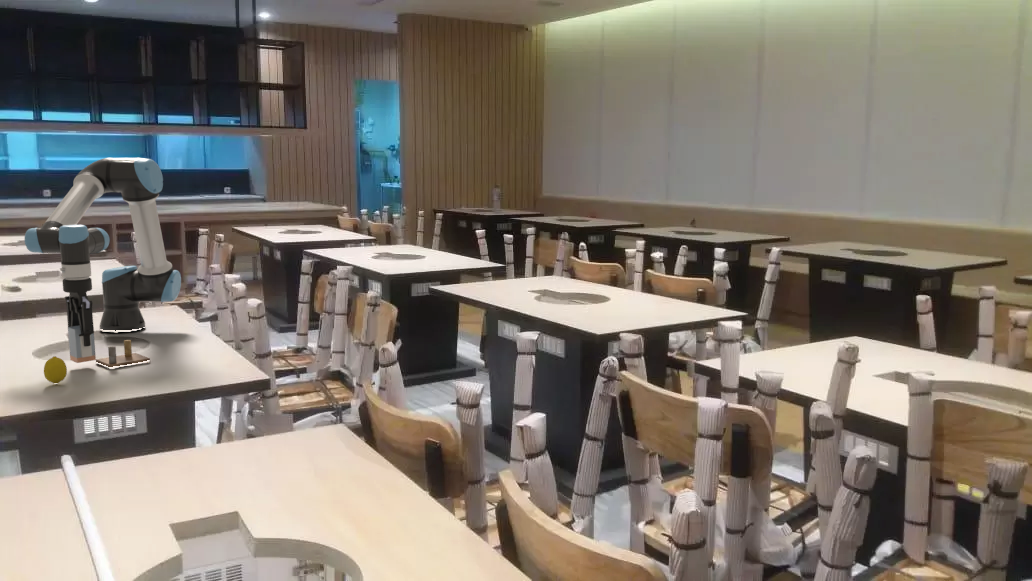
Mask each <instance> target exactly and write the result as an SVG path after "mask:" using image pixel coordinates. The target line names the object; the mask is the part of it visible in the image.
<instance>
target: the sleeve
mask: <svg viewBox="0 0 1032 581" xmlns="http://www.w3.org/2000/svg"><path fill="white" fill-rule="evenodd" d="M94 333H95V332H94ZM94 333H93V334H91V347H92V356H89V357H83V358H82V357H81V344H80V336H79V334H81V330H80V326H72V327H68V326H67V334H68V346H69V347H68V350H69V359H70V361H72V362H74V363H76V364H80V363H85V362H91V361H96V359H97V357H96V355H97V354H96V345H95V334H94Z"/></svg>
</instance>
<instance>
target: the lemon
mask: <svg viewBox="0 0 1032 581" xmlns="http://www.w3.org/2000/svg"><path fill="white" fill-rule="evenodd" d="M67 373H68V369H67V364H66V362H65V361H64V359H62V358H60V357H57V356H55V355H54V356H52V357H50V358H49V359H47V360H46V361H45V362H44V366H43V374H44V377H45V379H46V380H47V381H48V382H50V383H53V384H54V383H58V384H60V382H62V381H63V380H65V378H66V376H67Z"/></svg>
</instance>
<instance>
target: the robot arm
mask: <svg viewBox="0 0 1032 581" xmlns="http://www.w3.org/2000/svg"><path fill="white" fill-rule="evenodd" d="M163 181H164V177H163V174H162V171H161V167H160V166H159V165H158V163H157V161H155V160H153V159H151V158H144V157H105V158H101V159H97V160H96V161H94V162H91V163H90V164H89V165H87V166H85V167H84V168H83V169H82V170H81V171H79V172H78V173H77V175H76V176H75V177H74V179H73V186H72V187H71V188H70V189H69V191H67V193H66V195H65V196H64V197H63V198H62V200H61V201H60V202H59V203H58V205H56V206H57V207H55V209H54V211H52V213H51V214H50V216H49V217H47V219H46V220H45V222H44V223H43V224H42V225H41V227H32V228H31V227H30V228H28V229H27V230H26V231H25V234H24V245H25V246H26V249H27V251H29V252H31V253H34V254H35V253H37V254H38V253H39V254H60V264H61V267H60V268H59V271H60V272H61V276H62V278H63V279H62V289H63V290H62V291H63V292H64V293H68V295H65V298H64V299H65V304H66V317H67V328H68V327H72V326H80V330H81V334H79V336H80V344H81V357H82V358H83V357H89V356H92V347H91V334H93V333H95V329H94V318H93V317H94V315H93V301H92V300H89V298H88V292H90V291H92V290H93V283H92V278H91V276H92V266H91V256H90V255H93V254H99V253H101V252H102V251H104V250H106V249H107V248H108V247H109V244H110V240H111V239H110V236H109V234H108V232H107V231H105V229H103V228H100V227H90V228H88V226H87V225H85V224H78V223H79V222H80V221H81V220H82V218H83V217H84V215H85V214H86V212H87V211H88V210H89V208H90V207H91V205H92V204H93V203H94V201H95V200H97V199H99V198H101V197H102V196H103V195H104V194H106V193H121V197H122V200H123V201H124V202H126V203H128V208H129V211H130V217H131V221H132V226H133V232H134V235H135V236H134V237H135V241H136V246H137V251H138V255H139V260H140V265H139V266H137V265H125V266H119V267H111V268H108V269H105V270H103V271H102V274H101V284H102V285H101V287H102V299H103V300H102V302H103V312H102V315H101V319H100V322H99V330H100V329H103V330H115V331H116V330H132V329H139V328H143V327H145V328H146V322H145V318H144V317H143V314H142V312H141V309H140V304H139V303H144V302H145V303H146V302H147V303H167V302H168V303H169V302H170V303H171V302H173V301H175V300H177V297H178V296H179V294H180V291H181V287H182V277H181V276H182V275H181V272H180V271H179V270H177V269H174V267H173V264H172V263H171V261H168V260H167V254H166V251H165V250H166V249H165V245H164V240H163V234H162V229H161V228H162V227H161V225H160V224H161V223H160V219H159V213H158V207H157V201H156V200H157V199H158V197H159V196H160V194H159V193H161V192H162V190H163V186H164V182H163Z"/></svg>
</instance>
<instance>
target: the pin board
mask: <svg viewBox="0 0 1032 581" xmlns="http://www.w3.org/2000/svg"><path fill="white" fill-rule="evenodd" d="M123 346H124V349H123V351H124V354H121V355H117V349H116V348H117V347H116V346H115V345H112V346H108V347H107V349H108V351H107V352H108V356H107V357H101V358H96V360H95V363H96V362H98V363H101V364H103V365H106V366H108V367H113V366H120V365H127V364H132V363H138V362H143V361H147V360H150V361H151V358H150V357H149V356H148V357H147V356H145V355H142V354H139V353H137V352H132V351H133V350H132V340H131V339H126V340H125V339H124V340H123Z"/></svg>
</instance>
